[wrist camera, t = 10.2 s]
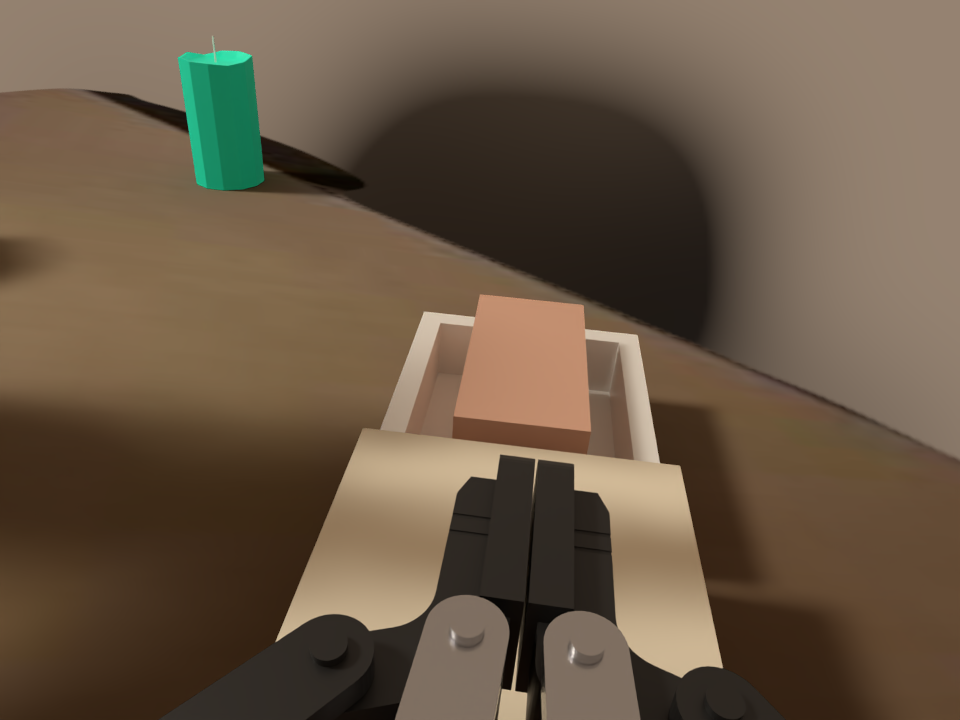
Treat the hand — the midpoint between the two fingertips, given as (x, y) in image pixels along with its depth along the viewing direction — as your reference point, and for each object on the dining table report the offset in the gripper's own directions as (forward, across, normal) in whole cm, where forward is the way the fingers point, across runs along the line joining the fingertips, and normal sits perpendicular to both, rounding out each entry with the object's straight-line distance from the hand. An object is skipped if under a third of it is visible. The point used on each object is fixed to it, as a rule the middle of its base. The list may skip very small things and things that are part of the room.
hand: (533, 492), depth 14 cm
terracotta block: (+10, 0, -8) cm, 13 cm away
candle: (+49, -29, -11) cm, 58 cm away
